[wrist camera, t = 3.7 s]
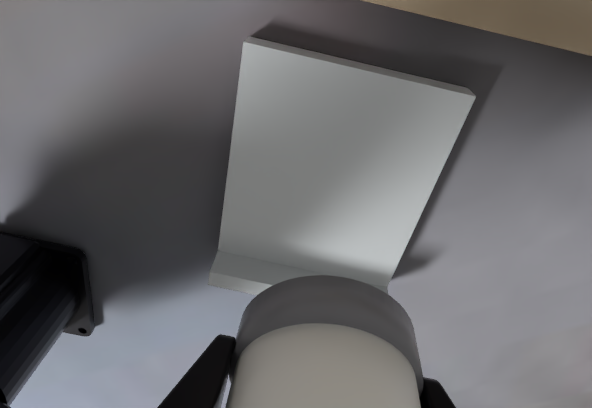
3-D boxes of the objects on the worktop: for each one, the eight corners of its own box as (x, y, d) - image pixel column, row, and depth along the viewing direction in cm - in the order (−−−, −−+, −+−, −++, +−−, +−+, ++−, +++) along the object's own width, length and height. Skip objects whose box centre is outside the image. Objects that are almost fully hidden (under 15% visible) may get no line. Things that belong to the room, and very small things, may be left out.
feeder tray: (379, 284, 20) (384, 322, 18) (221, 249, 19) (207, 284, 17) (467, 88, 14) (489, 110, 12) (249, 36, 14) (234, 50, 12)
